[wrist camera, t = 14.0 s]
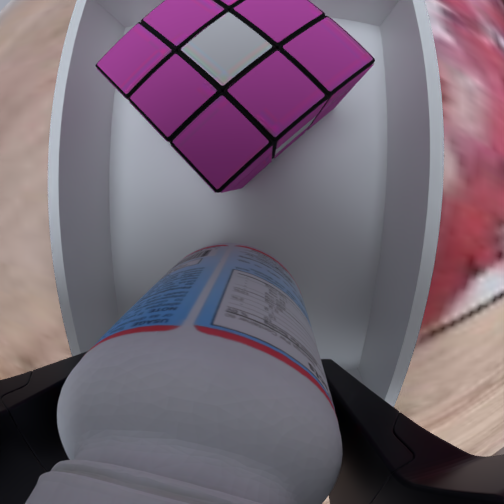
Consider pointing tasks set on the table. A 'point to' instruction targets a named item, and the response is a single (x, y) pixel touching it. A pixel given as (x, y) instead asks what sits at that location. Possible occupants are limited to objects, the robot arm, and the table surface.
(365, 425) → the robot arm
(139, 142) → the tote
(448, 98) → the table surface
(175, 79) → the puzzle toy
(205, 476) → the pill bottle
